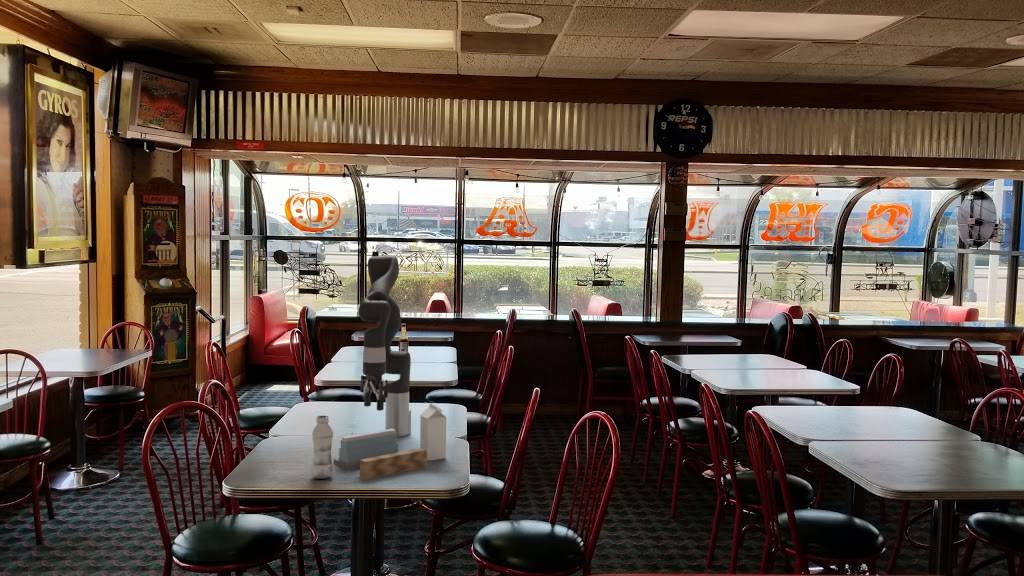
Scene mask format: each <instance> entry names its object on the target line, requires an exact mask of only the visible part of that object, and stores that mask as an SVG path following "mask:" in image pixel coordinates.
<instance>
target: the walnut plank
mask: <svg viewBox="0 0 1024 576" xmlns="http://www.w3.org/2000/svg"><path fill="white" fill-rule="evenodd" d="M427 462H428V461H427V450H425V449H423V448H420V447H419V448H416V449H415V448H413V449H409V450H403V451H398V453H392V454H387V455H382V456H377V457H372V458H366V459H361V460H360V468H359V478H360V477H361V479H362V478H363V479H362V480H369V479H374V478H378V477H379V478H380V477H384V476H389V475H392V474H394V475H395V474H397V473H398V474H399V473H402V472H407V470H408V471H412V470H417V469H421V468H425V467H427Z"/></svg>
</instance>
